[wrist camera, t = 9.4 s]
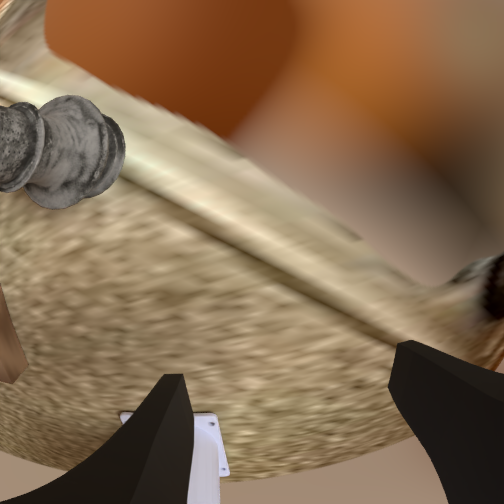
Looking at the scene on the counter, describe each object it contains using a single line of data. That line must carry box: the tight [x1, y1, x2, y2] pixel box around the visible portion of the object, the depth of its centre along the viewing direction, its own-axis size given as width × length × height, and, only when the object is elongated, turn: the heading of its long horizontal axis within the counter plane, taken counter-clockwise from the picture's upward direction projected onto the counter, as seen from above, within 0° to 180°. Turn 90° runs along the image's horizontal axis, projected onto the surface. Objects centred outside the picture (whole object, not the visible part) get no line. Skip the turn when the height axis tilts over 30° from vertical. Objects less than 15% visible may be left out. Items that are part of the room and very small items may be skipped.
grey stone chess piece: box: [0, 95, 125, 210], centre depth 9 cm, size 6×6×12 cm
